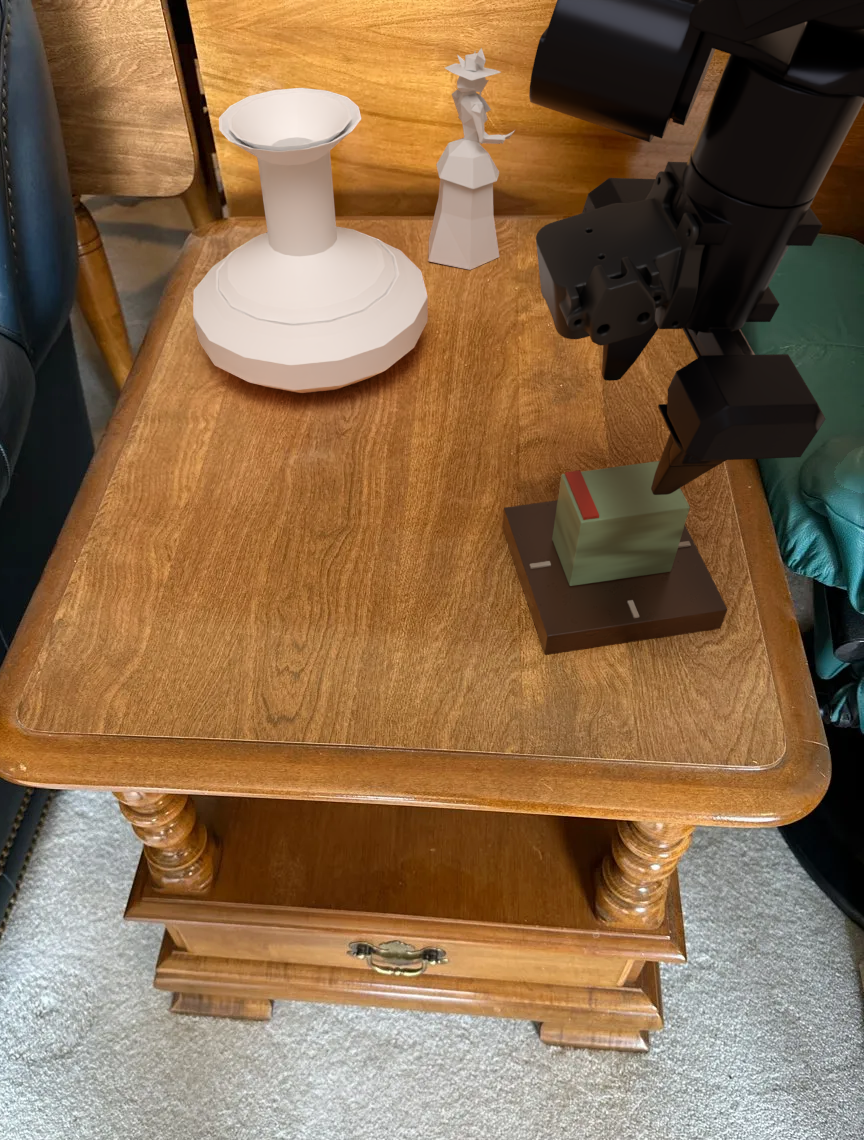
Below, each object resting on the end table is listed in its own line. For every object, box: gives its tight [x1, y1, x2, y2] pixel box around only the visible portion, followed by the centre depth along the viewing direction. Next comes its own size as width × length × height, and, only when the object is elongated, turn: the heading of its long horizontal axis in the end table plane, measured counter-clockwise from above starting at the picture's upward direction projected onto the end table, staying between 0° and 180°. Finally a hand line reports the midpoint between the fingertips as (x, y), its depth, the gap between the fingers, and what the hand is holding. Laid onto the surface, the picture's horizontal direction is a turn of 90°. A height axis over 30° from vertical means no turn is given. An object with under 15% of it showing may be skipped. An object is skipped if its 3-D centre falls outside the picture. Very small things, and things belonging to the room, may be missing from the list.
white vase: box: [192, 87, 429, 394], centre depth 77 cm, size 20×20×19 cm
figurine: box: [427, 47, 516, 271], centre depth 86 cm, size 7×8×18 cm
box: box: [552, 460, 691, 586], centre depth 63 cm, size 7×4×6 cm, turn 99°
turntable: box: [501, 499, 728, 656], centre depth 66 cm, size 12×12×2 cm
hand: (634, 433), depth 55 cm, fingers open, 9 cm apart
